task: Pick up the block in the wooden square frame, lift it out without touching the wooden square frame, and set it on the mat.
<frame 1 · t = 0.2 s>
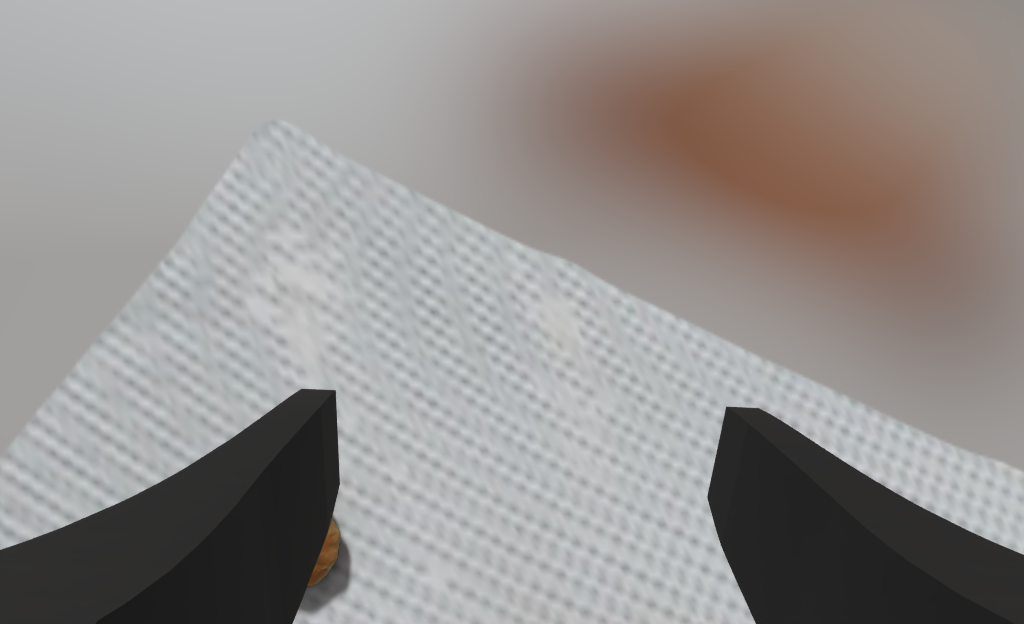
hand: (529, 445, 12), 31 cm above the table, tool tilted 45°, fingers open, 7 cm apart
pastry: (270, 510, 41), on the table
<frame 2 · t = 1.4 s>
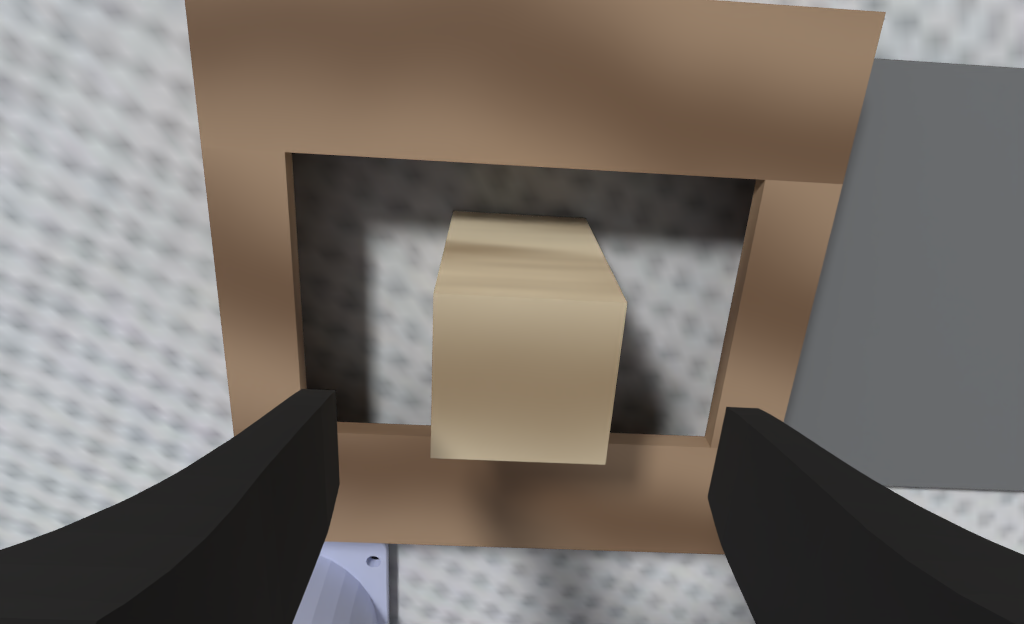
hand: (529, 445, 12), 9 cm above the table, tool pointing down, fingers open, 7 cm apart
wooden square frame: (515, 277, 21), on the table
block: (519, 320, 18), in the wooden square frame
mat: (979, 300, 22), on the table
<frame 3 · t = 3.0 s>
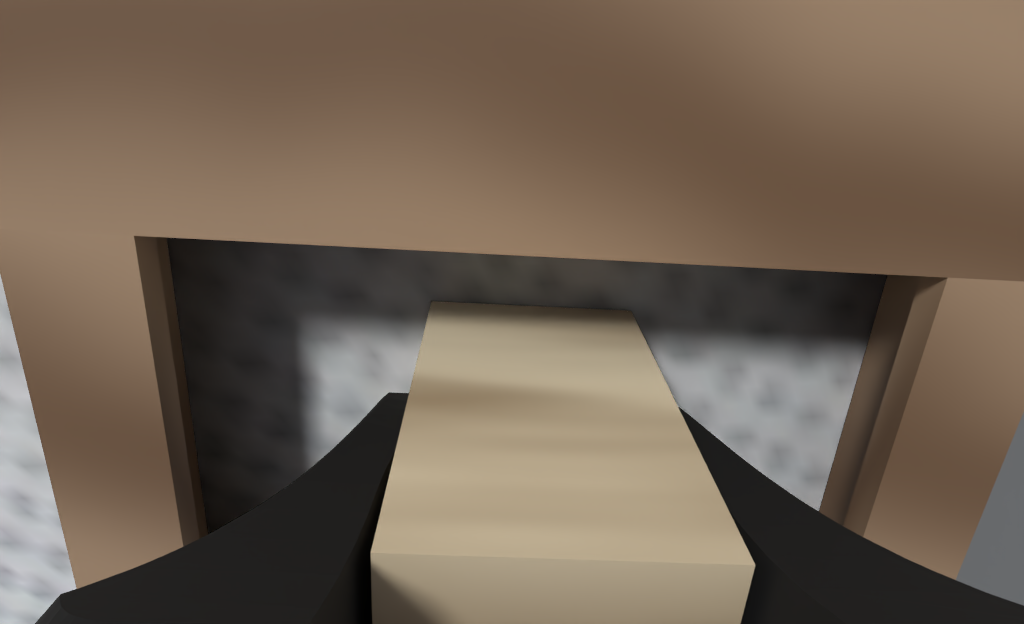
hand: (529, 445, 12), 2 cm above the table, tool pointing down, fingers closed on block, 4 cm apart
wooden square frame: (524, 394, 14), on the table
block: (533, 500, 11), in the wooden square frame, touching gripper
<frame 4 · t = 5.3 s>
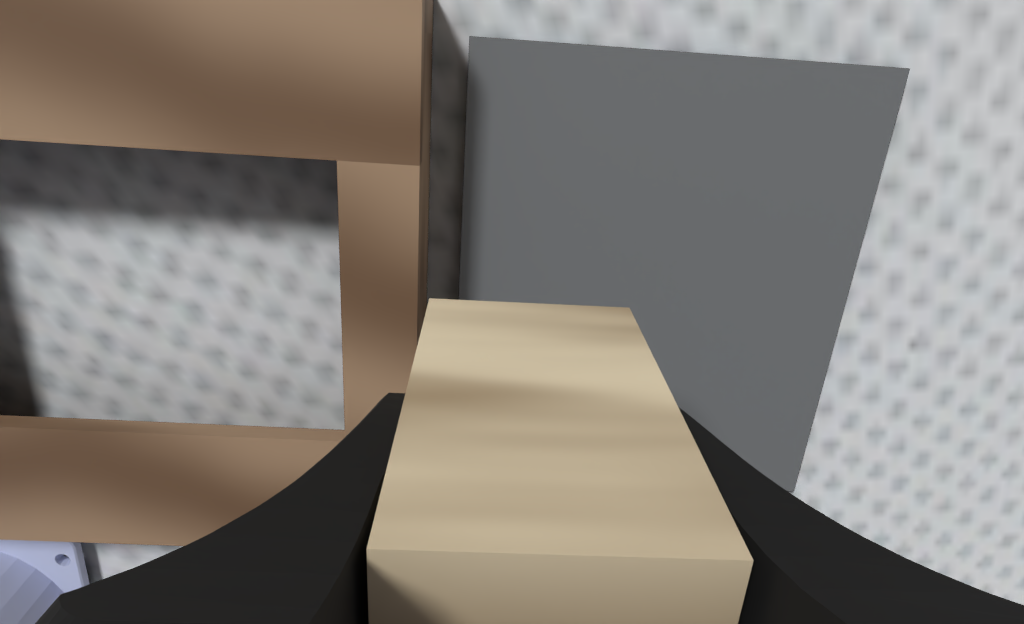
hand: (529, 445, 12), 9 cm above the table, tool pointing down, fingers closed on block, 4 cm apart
wooden square frame: (161, 264, 20), on the table
block: (531, 497, 11), point 11 cm above the table, touching gripper
mat: (651, 291, 21), on the table
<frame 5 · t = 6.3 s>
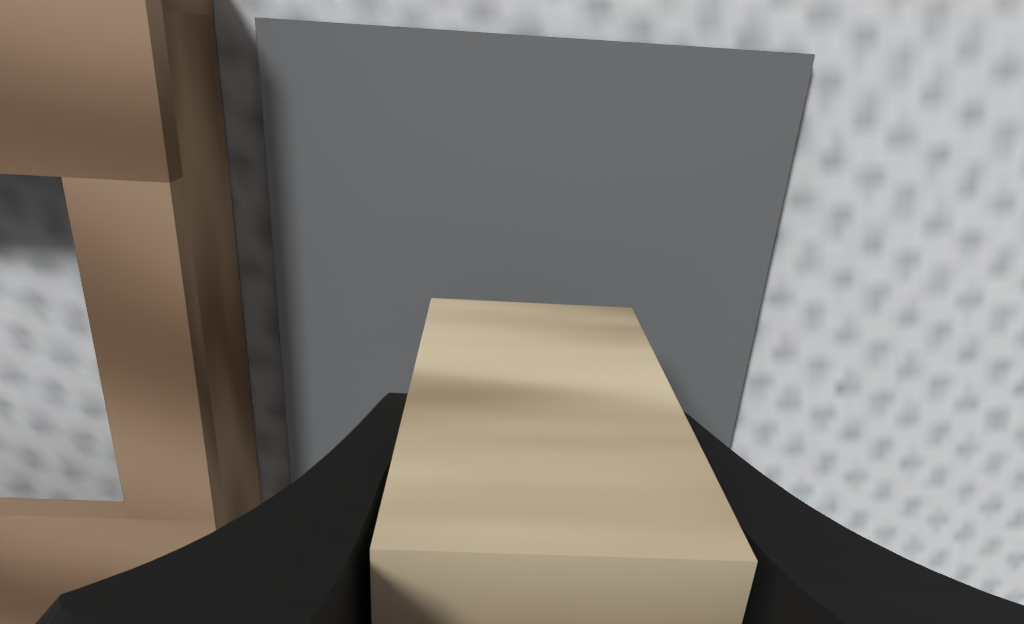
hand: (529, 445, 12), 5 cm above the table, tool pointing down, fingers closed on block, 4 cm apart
block: (534, 497, 11), point 7 cm above the table, touching gripper
mat: (518, 328, 17), on the table
when the fingers open (4 cm above the table, at t = 7.4 s): block drops 1 cm, resting on mat.
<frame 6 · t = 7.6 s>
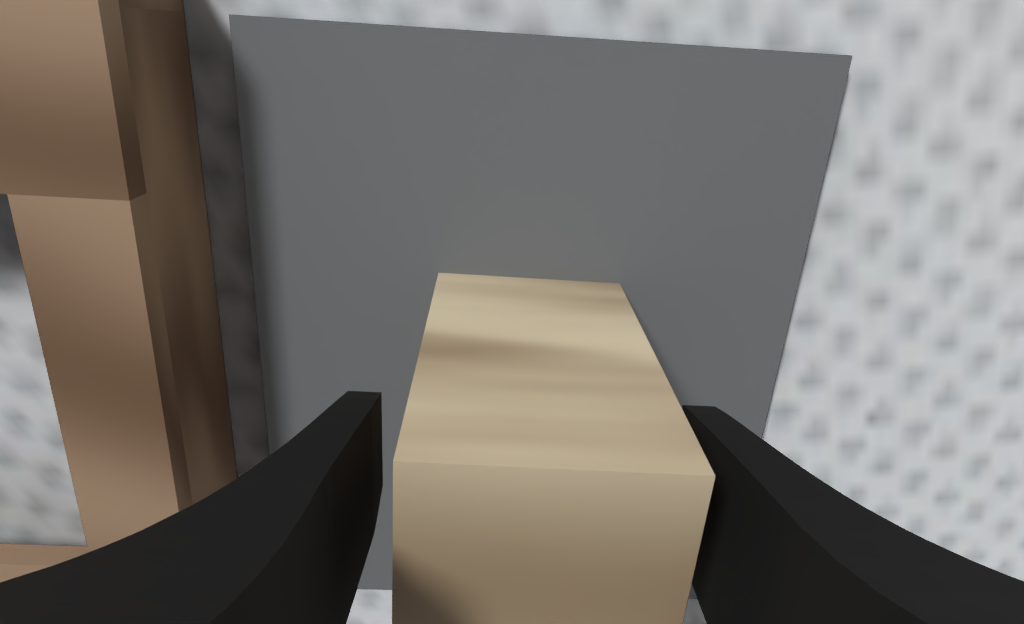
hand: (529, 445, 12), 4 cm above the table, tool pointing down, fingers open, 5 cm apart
block: (529, 445, 12), on the mat
mat: (522, 354, 16), on the table
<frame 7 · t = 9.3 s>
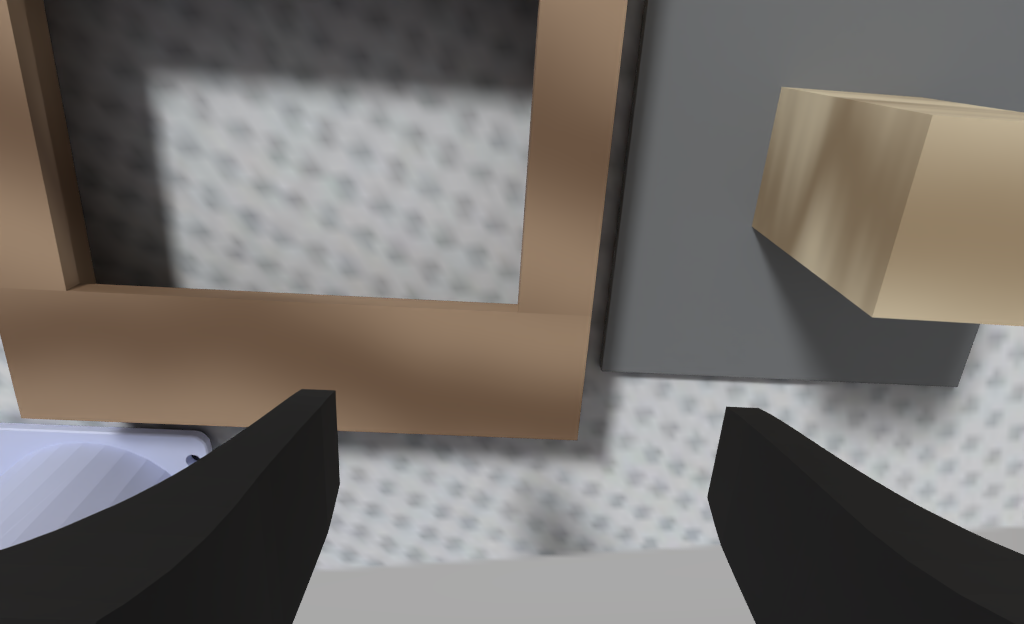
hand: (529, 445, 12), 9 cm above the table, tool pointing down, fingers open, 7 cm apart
wooden square frame: (315, 134, 19), on the table
block: (900, 189, 16), on the mat
mat: (826, 163, 20), on the table
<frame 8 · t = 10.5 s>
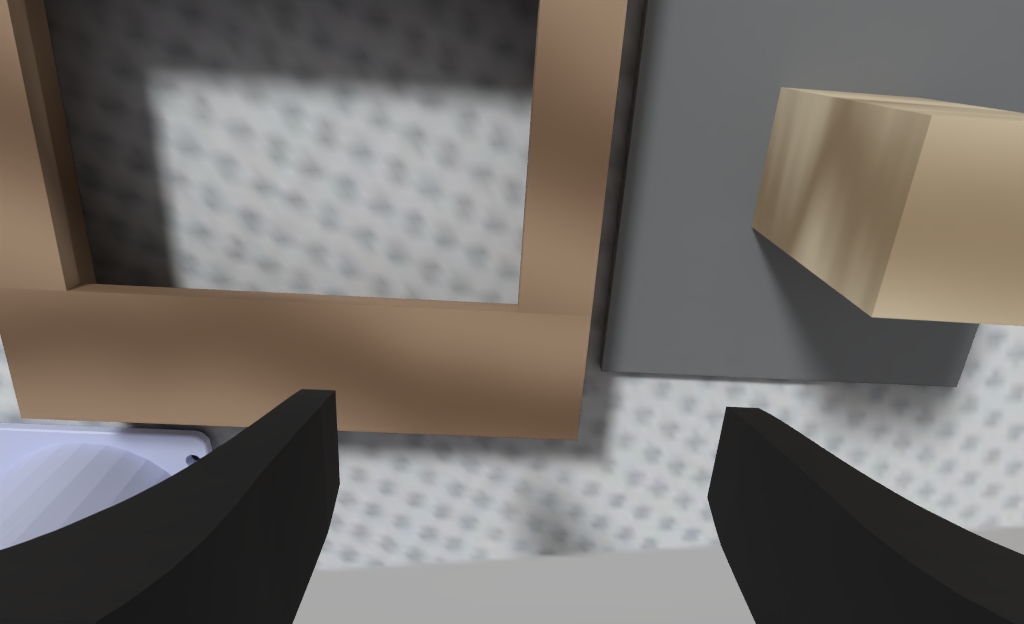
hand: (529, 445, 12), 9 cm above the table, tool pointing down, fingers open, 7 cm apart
wooden square frame: (315, 134, 19), on the table
block: (899, 190, 16), on the mat
mat: (826, 164, 20), on the table
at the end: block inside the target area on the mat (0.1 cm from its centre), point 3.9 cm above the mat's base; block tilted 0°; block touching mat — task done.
